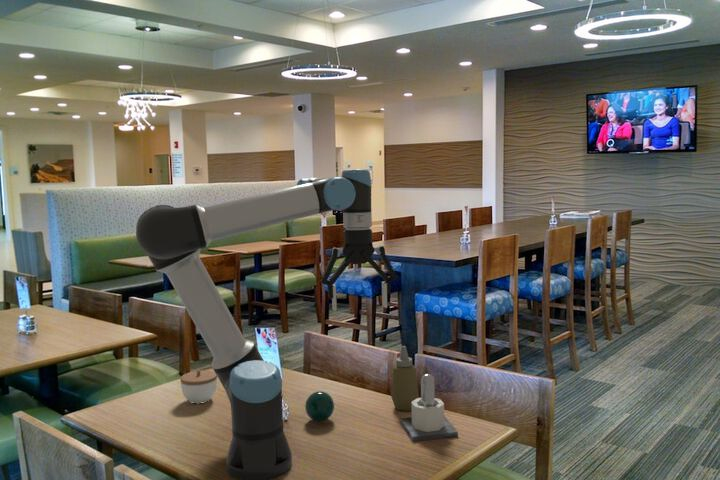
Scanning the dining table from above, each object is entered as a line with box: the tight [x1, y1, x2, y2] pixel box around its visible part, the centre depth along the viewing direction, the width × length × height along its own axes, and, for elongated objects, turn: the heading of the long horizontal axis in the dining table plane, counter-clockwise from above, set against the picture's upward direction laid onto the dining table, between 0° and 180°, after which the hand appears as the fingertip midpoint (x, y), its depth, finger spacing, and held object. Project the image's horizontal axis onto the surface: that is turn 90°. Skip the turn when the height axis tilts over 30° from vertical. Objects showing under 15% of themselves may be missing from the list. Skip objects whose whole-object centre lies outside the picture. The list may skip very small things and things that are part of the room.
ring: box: [410, 397, 445, 432], centre depth 156 cm, size 8×8×6 cm
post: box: [399, 373, 459, 442], centre depth 155 cm, size 12×12×15 cm
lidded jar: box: [179, 369, 218, 403], centre depth 181 cm, size 11×11×9 cm
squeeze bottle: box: [390, 345, 420, 412], centre depth 170 cm, size 8×8×18 cm
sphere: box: [304, 390, 335, 422], centre depth 163 cm, size 8×8×8 cm
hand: (359, 308), depth 158 cm, fingers open, 13 cm apart
